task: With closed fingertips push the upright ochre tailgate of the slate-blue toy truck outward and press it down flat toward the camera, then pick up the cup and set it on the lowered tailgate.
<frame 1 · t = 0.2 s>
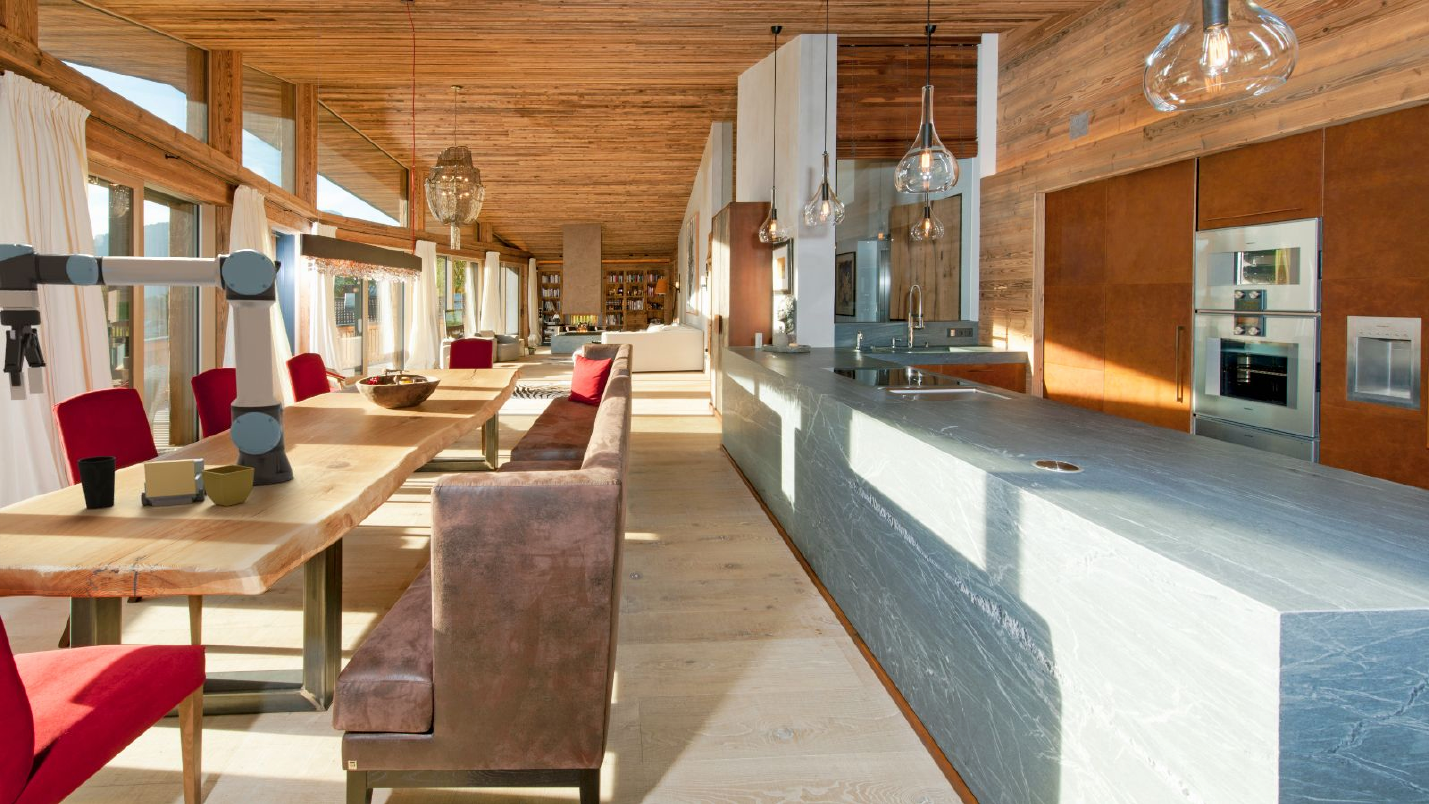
hand: (28, 396, 202), 28 cm above the table, fingers open, 13 cm apart
flower pot: (230, 504, 212), on the table
truck: (176, 499, 215), on the table
cup: (100, 506, 207), on the table
tailgate: (170, 479, 208), point 7 cm above the table, hinge at 0.0°
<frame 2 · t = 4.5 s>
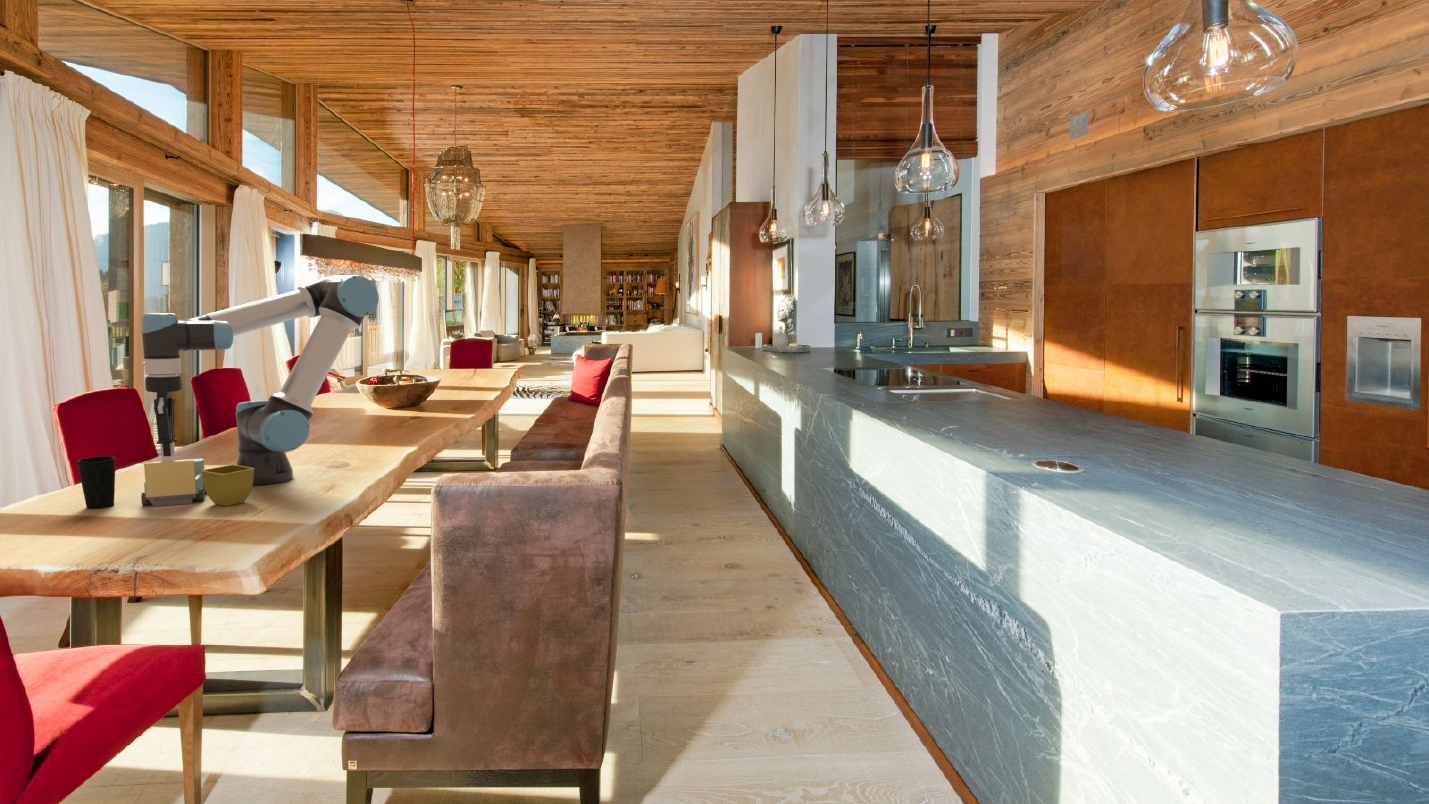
hand: (168, 468, 209), 9 cm above the table, fingers closed
tailgate: (170, 479, 208), point 7 cm above the table, hinge at 0.1°, touching gripper
everything else where it was.
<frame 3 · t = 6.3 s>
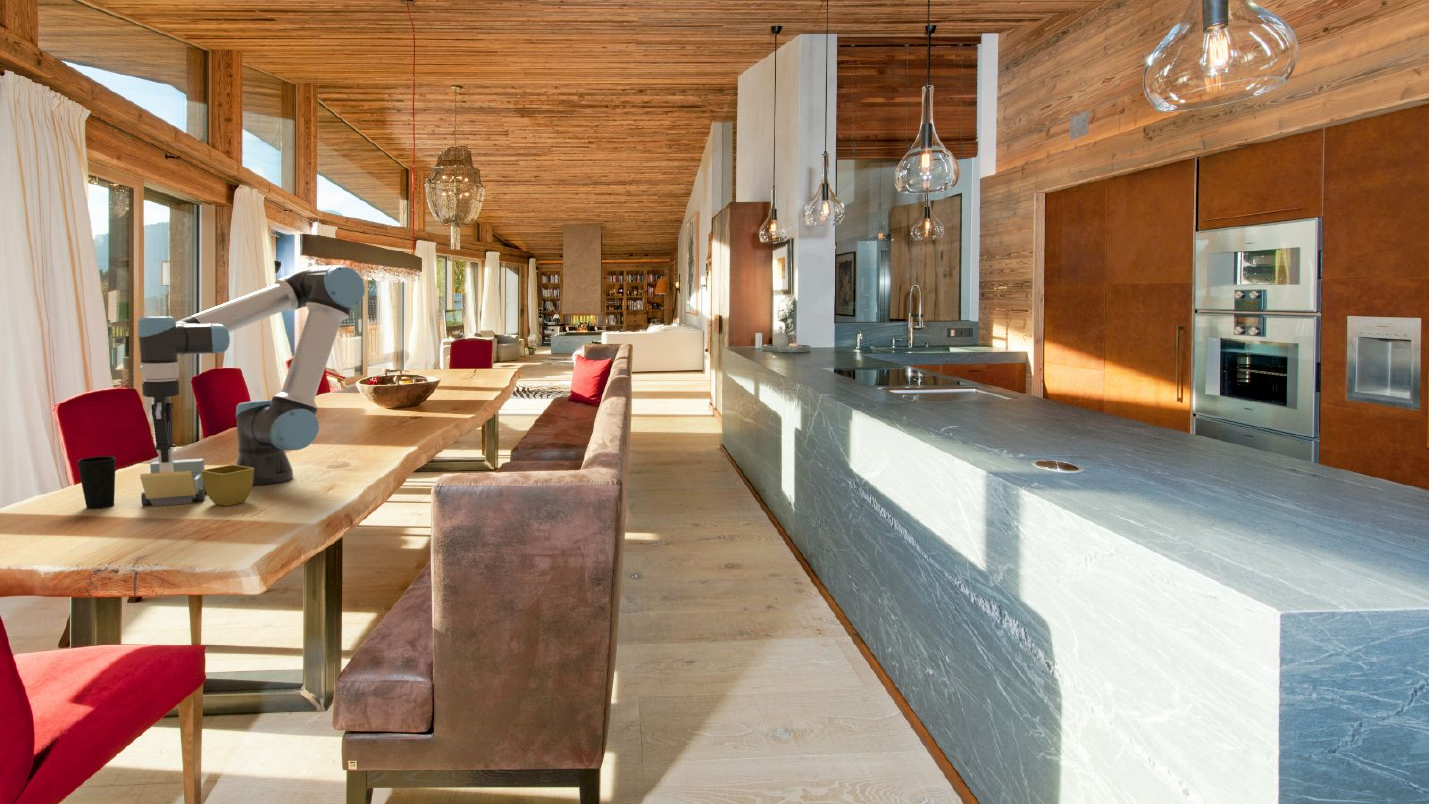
hand: (167, 474, 205), 9 cm above the table, fingers closed
tailgate: (168, 485, 206), point 6 cm above the table, hinge at 39.8°, touching gripper
everything else where it was.
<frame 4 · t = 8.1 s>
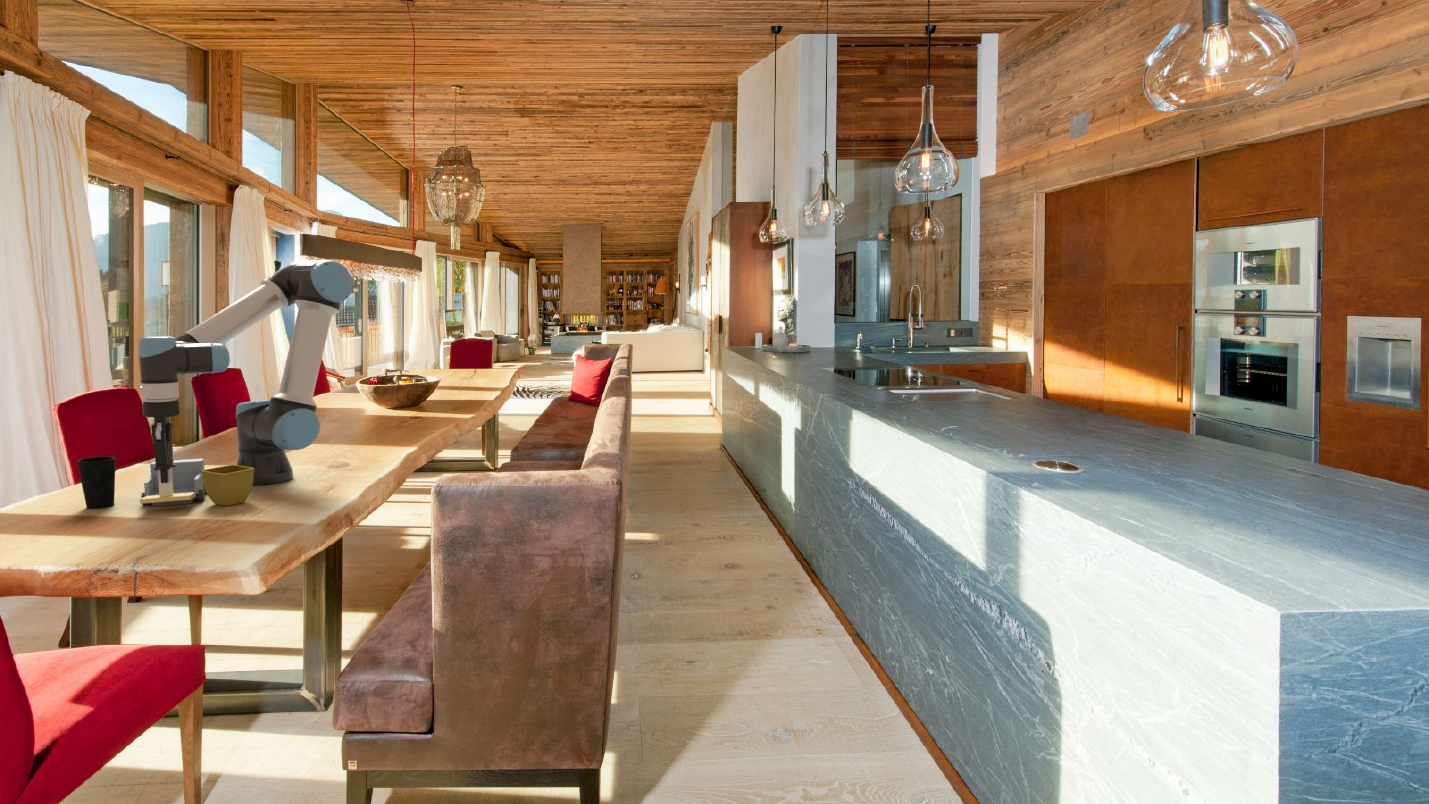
hand: (166, 494, 204), 4 cm above the table, fingers closed
tailgate: (168, 497, 205), point 3 cm above the table, hinge at 83.0°, touching gripper
everything else where it was.
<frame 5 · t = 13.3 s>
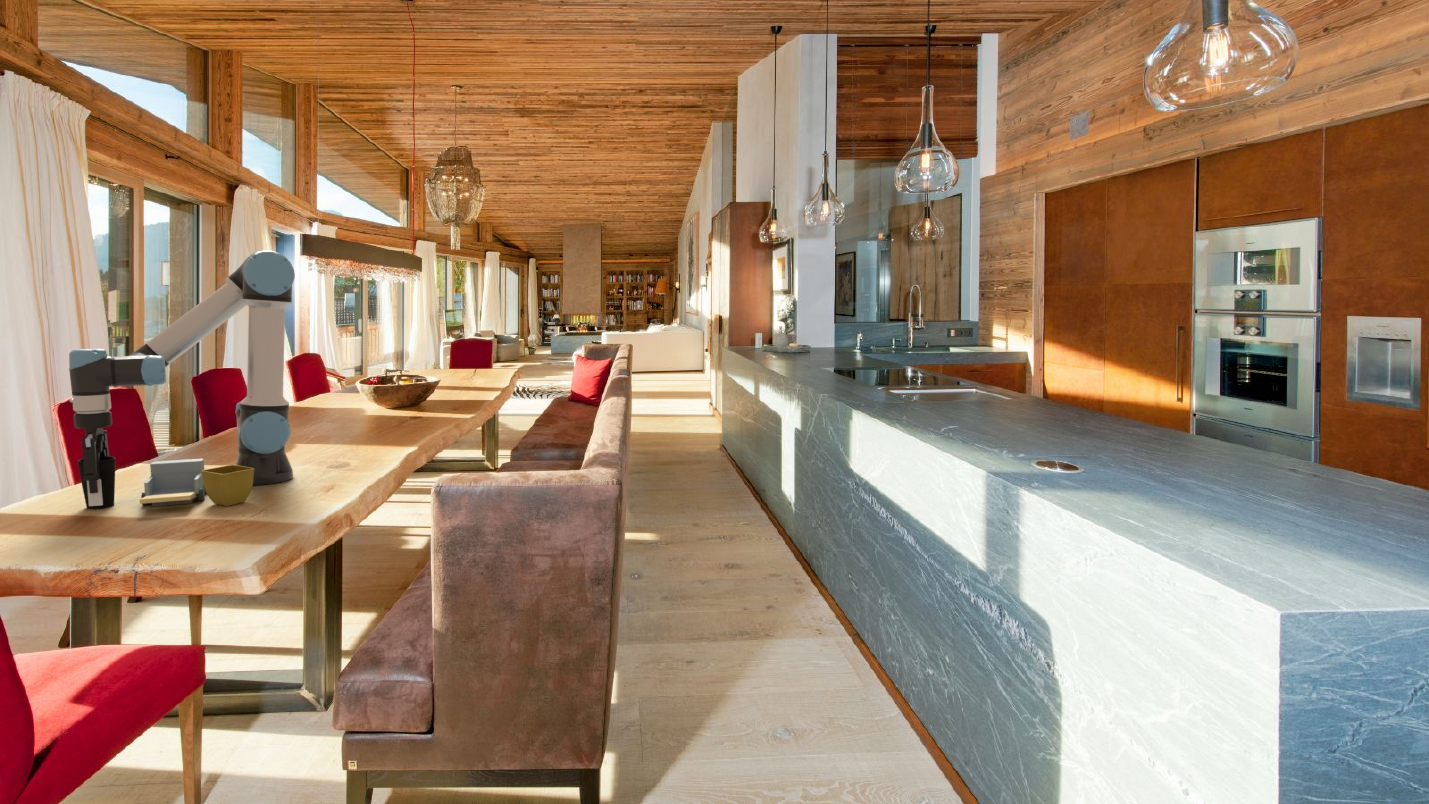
hand: (100, 501, 207), 1 cm above the table, fingers closed on cup, 8 cm apart
cup: (100, 506, 207), on the table, touching gripper
tailgate: (168, 497, 205), point 3 cm above the table, hinge at 83.1°
everything else where it was.
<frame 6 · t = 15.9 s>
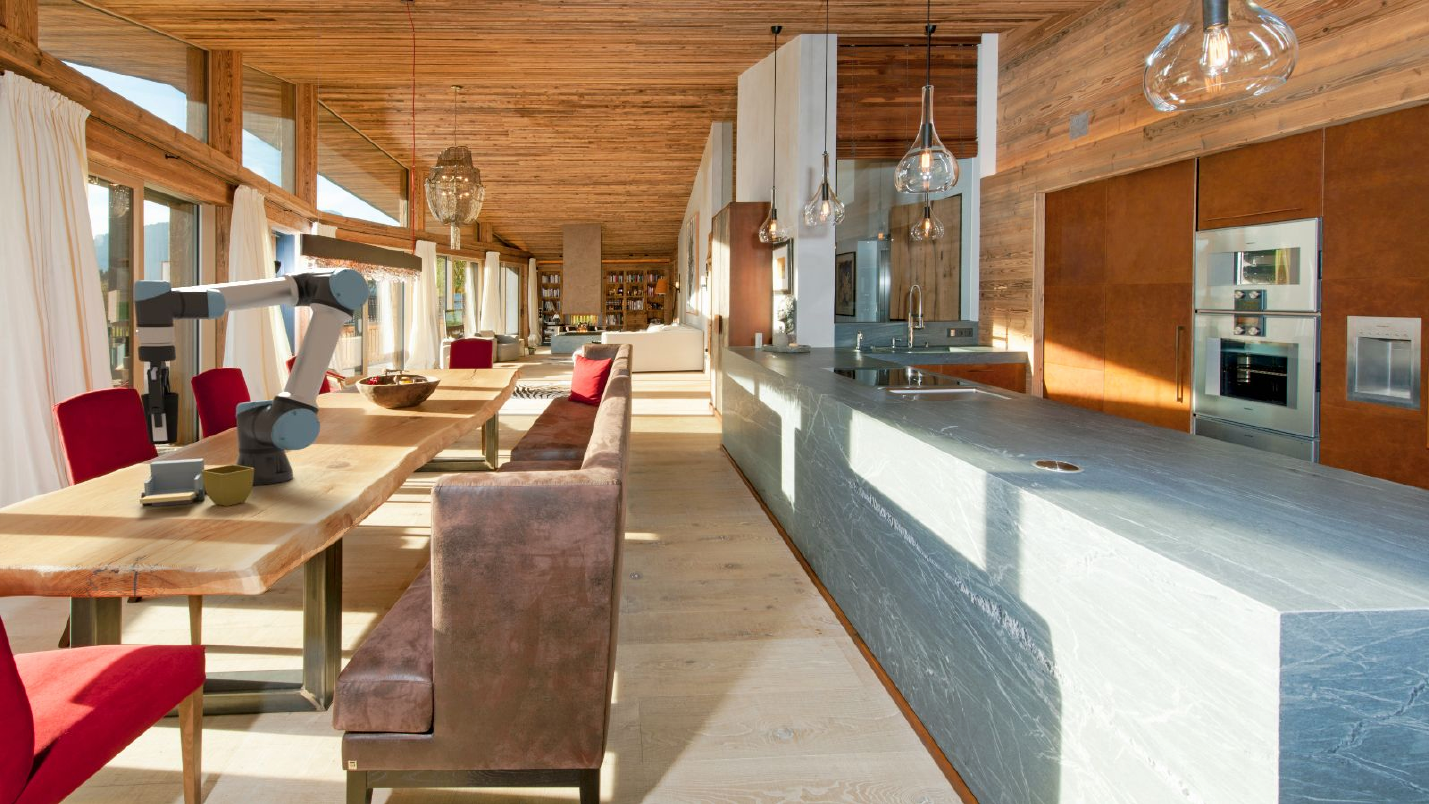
hand: (163, 437, 203), 18 cm above the table, fingers closed on cup, 8 cm apart
cup: (163, 443, 203), point 17 cm above the table, touching gripper
everything else where it was.
when the fingers open (5 cm above the table, at t = 18.7 s): cup stays where it is, resting on tailgate.
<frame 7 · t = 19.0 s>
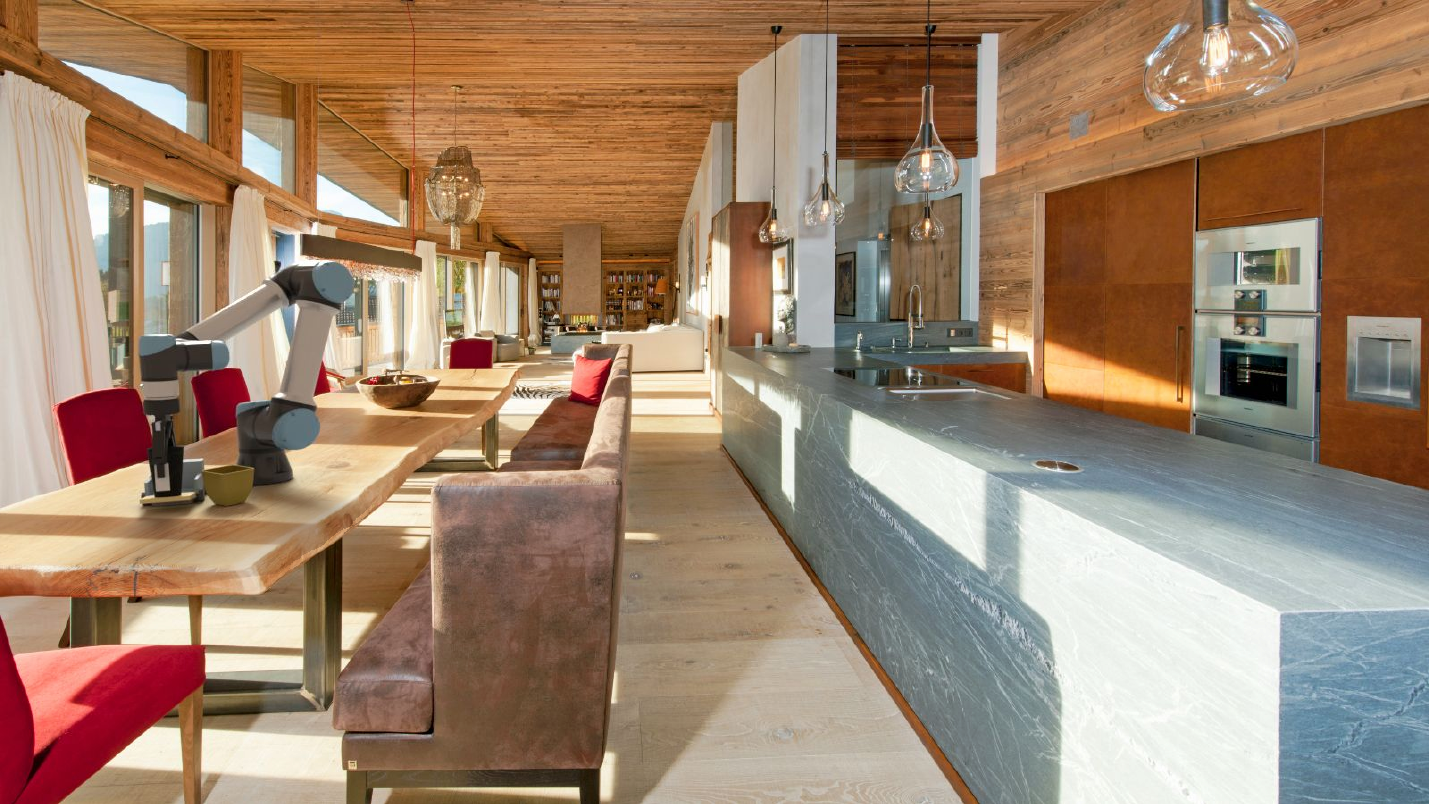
hand: (167, 485, 204), 6 cm above the table, fingers open, 11 cm apart
cup: (168, 496, 205), point 3 cm above the table, touching tailgate
tailgate: (168, 497, 205), point 3 cm above the table, hinge at 83.3°, touching cup
everything else where it was.
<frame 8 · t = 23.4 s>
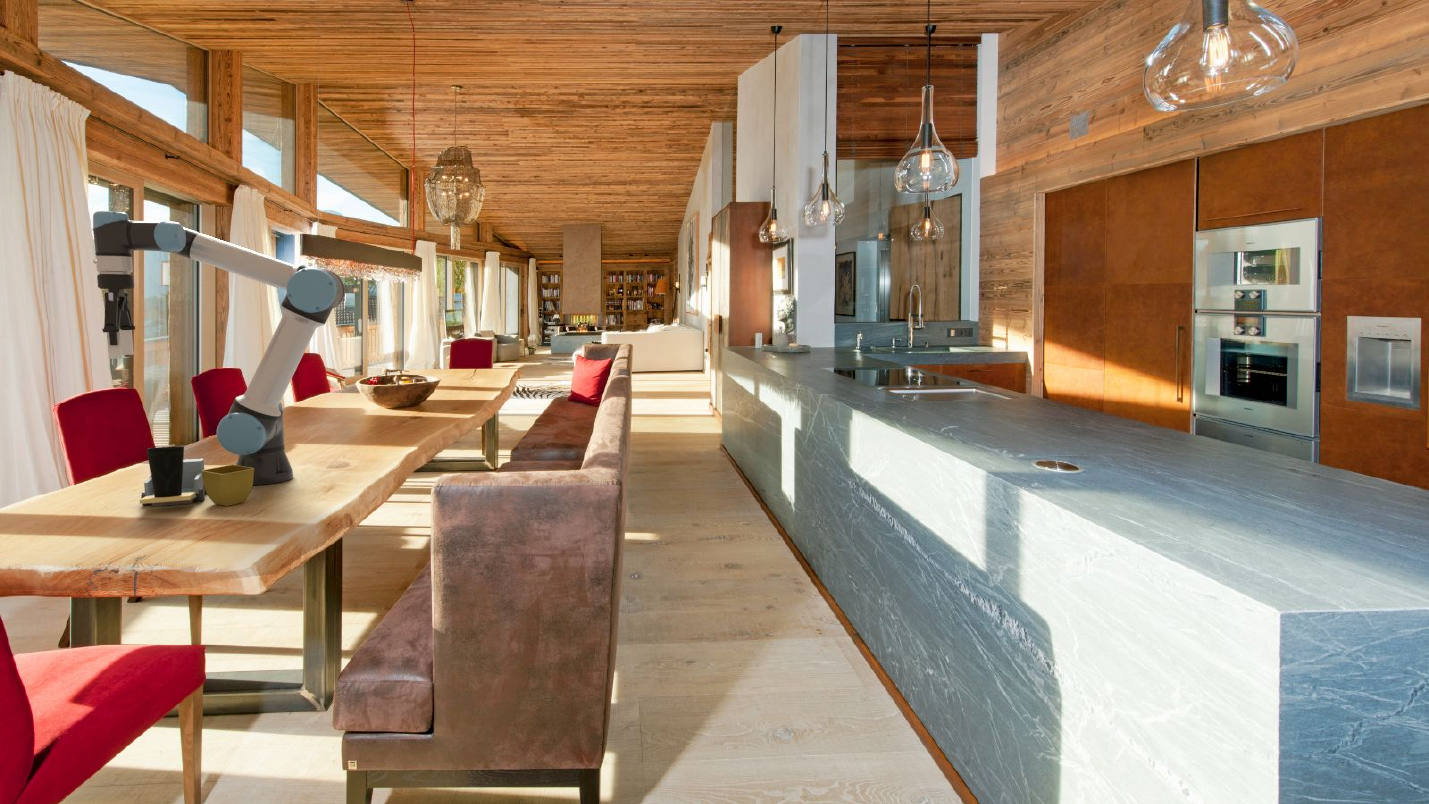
hand: (121, 356, 214), 37 cm above the table, fingers open, 13 cm apart
nothing on the table moved.
at the end: tailgate at +84° (first picture: +0°); cup tilted 7° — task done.
